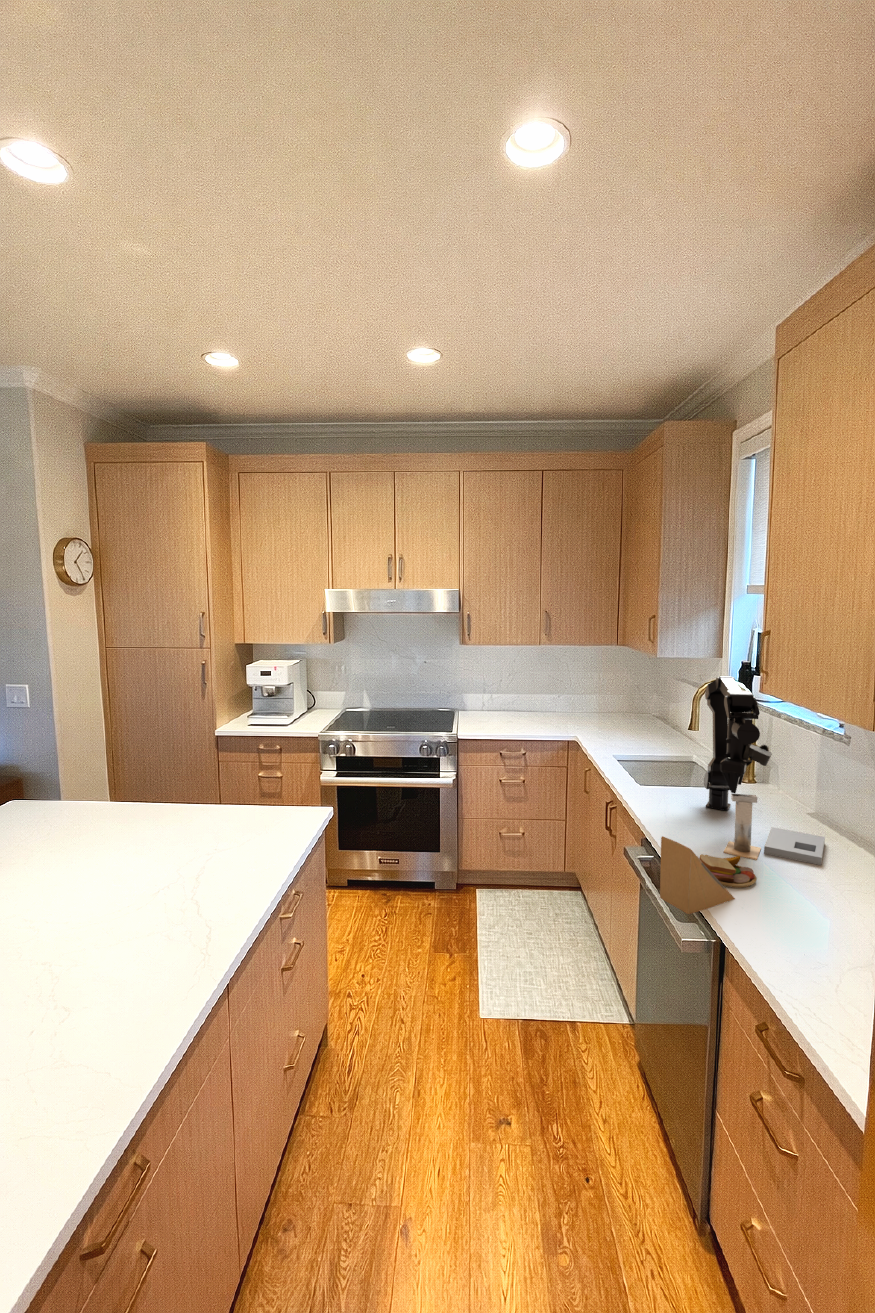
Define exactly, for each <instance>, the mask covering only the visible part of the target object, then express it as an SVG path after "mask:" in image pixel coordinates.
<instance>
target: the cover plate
mask: <svg viewBox="0 0 875 1313" xmlns="http://www.w3.org/2000/svg"><path fill="white" fill-rule="evenodd" d="M825 840H826V837H825V836H822V835H817V834H813V833H812V834H811V833H805V832H800V831H795V830H790V829H785V828H779V827H775V826H771V828H770V830H769V833H768V836H767V838H766V841H765V844H764V846H763V854H766V855H771V856H775V857H780V858H786V859H789V860H795V861H799V862H804V863H808V864H812V865H813V864H814V865H818V866H822V863H823V855H824V851H825V842H826V841H825Z"/></svg>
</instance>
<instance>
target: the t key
mask: <svg viewBox="0 0 875 1313" xmlns="http://www.w3.org/2000/svg"><path fill="white" fill-rule="evenodd" d="M730 800H731V801H732V802H735V809H734V811H735V813H734V814H735V815H734V840H733V842H734V849H735V850H737V851H739V852H750V851H751V846H752V825H753V824H752V821H753V804H755V803H756V804H757V803H758V796H757V795H756V794H742V793H741V794H740V793H731V794H730Z"/></svg>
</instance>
